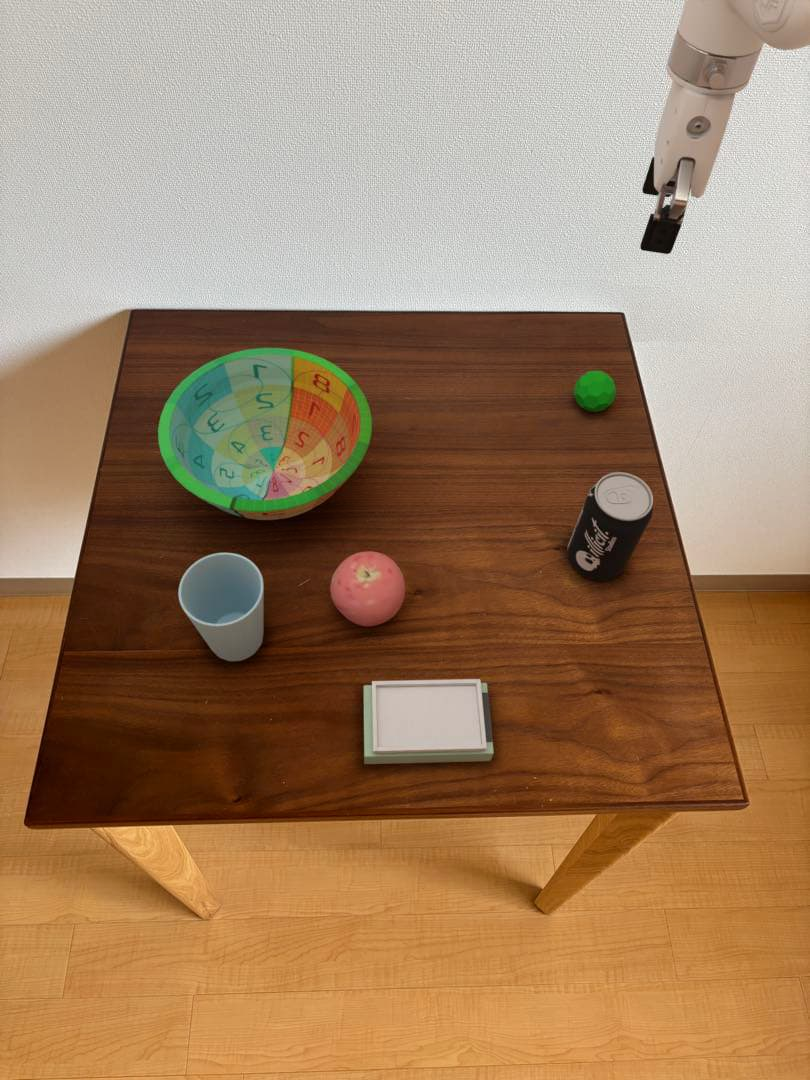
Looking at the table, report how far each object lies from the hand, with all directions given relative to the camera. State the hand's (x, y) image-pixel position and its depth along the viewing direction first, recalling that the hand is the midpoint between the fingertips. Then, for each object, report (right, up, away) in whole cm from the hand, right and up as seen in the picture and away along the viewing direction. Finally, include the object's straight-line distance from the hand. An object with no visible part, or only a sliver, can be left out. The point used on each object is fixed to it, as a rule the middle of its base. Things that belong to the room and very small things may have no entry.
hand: (655, 221), depth 87 cm
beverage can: (-6, -36, +3) cm, 37 cm away
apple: (-31, -41, -2) cm, 52 cm away
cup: (-44, -44, -4) cm, 63 cm away
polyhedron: (-4, -17, +15) cm, 23 cm away
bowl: (-42, -27, +7) cm, 50 cm away
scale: (-25, -52, -8) cm, 59 cm away
